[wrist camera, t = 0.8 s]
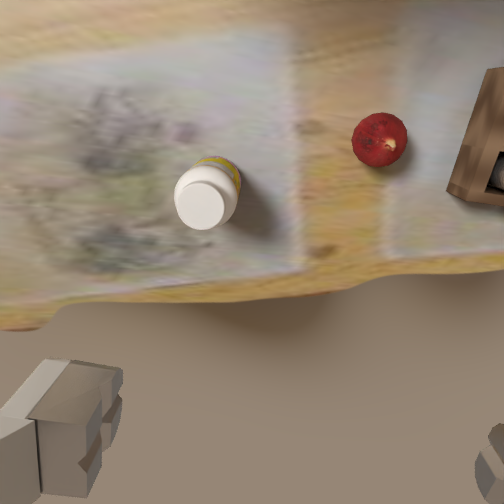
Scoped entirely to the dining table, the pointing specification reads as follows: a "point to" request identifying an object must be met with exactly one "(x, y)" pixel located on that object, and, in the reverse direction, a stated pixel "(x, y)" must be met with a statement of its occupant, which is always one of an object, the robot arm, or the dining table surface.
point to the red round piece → (379, 139)
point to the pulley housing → (481, 144)
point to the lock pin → (497, 173)
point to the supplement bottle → (208, 193)
